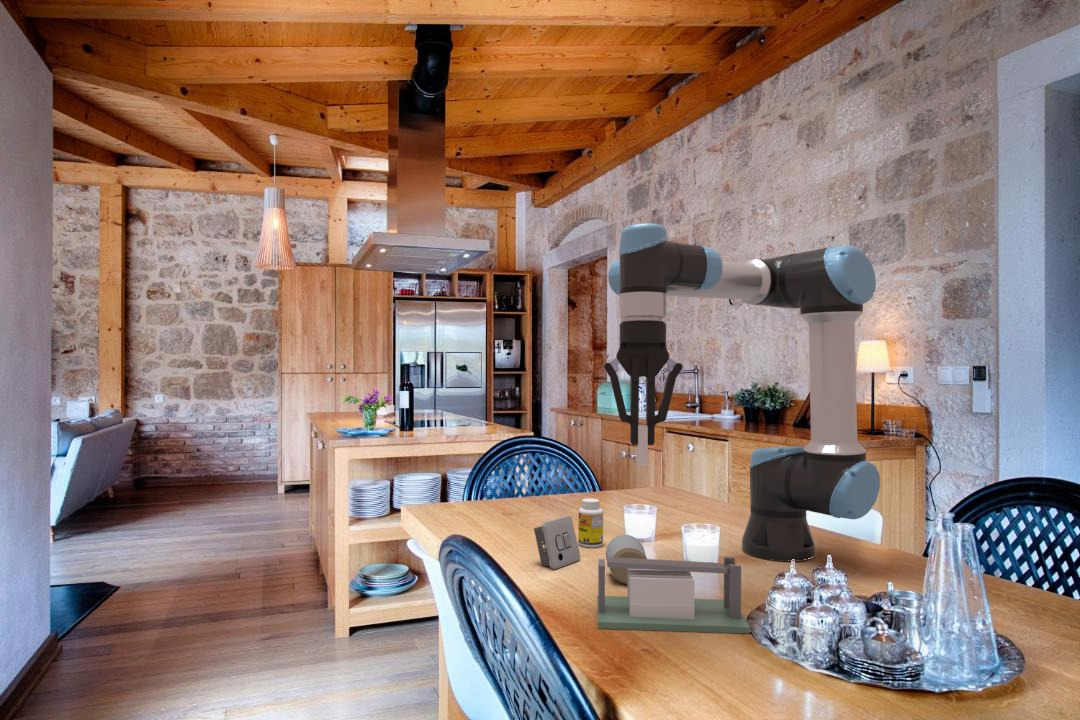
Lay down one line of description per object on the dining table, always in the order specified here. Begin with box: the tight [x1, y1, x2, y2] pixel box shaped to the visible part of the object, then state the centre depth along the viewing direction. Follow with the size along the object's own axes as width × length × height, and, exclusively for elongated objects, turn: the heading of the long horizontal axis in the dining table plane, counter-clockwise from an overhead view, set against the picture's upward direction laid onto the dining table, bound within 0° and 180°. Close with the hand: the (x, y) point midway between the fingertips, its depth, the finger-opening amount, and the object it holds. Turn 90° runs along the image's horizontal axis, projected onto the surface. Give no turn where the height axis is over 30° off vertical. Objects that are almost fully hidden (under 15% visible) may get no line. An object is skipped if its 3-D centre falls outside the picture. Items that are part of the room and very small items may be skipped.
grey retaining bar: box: [606, 557, 736, 575], centre depth 109 cm, size 21×3×2 cm, turn 86°
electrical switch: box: [533, 515, 581, 570], centre depth 138 cm, size 9×5×9 cm, turn 141°
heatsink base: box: [596, 556, 751, 635], centre depth 109 cm, size 23×12×9 cm, turn 86°
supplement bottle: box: [577, 497, 604, 549], centre depth 152 cm, size 6×6×10 cm
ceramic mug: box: [605, 534, 648, 585], centre depth 128 cm, size 11×8×8 cm
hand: (642, 465), depth 109 cm, fingers closed
